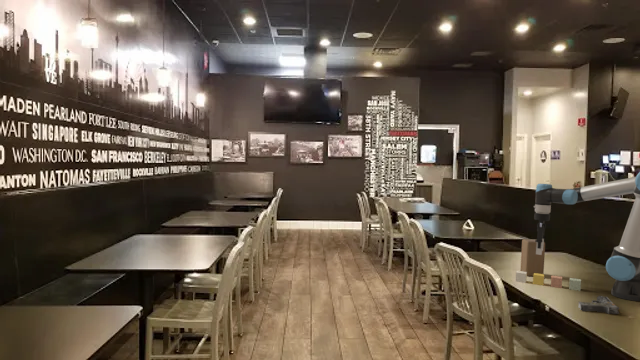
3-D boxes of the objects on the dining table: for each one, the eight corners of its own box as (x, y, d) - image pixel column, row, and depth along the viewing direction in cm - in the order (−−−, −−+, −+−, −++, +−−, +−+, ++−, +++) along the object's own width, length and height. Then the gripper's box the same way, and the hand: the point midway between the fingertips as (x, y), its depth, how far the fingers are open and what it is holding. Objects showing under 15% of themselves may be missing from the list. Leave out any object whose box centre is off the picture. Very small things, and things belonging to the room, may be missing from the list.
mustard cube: (543, 283, 244) (544, 274, 243) (543, 285, 239) (543, 276, 239) (533, 282, 246) (534, 273, 246) (532, 284, 242) (533, 274, 241)
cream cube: (526, 281, 248) (526, 272, 247) (525, 283, 243) (526, 273, 243) (516, 279, 250) (516, 270, 250) (515, 281, 246) (516, 272, 245)
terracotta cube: (561, 286, 239) (562, 276, 239) (561, 288, 235) (562, 278, 235) (551, 284, 242) (551, 275, 242) (550, 286, 237) (551, 277, 237)
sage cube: (580, 288, 235) (580, 279, 235) (580, 291, 231) (580, 281, 231) (569, 287, 238) (569, 277, 238) (569, 289, 233) (569, 279, 233)
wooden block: (537, 273, 268) (539, 239, 267) (544, 277, 258) (546, 242, 257) (519, 272, 269) (521, 238, 268) (525, 276, 259) (527, 241, 258)
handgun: (572, 300, 217) (609, 304, 211) (580, 312, 198) (621, 317, 192) (572, 292, 217) (609, 295, 211) (580, 303, 197) (621, 307, 192)
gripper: (536, 210, 254) (533, 247, 255) (532, 214, 232) (529, 255, 233) (551, 211, 250) (548, 249, 251) (549, 215, 228) (546, 257, 229)
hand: (539, 252), depth 242 cm, fingers open, 13 cm apart
